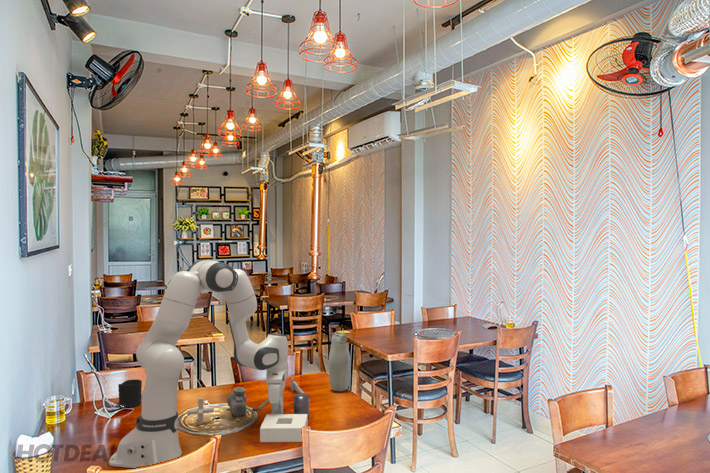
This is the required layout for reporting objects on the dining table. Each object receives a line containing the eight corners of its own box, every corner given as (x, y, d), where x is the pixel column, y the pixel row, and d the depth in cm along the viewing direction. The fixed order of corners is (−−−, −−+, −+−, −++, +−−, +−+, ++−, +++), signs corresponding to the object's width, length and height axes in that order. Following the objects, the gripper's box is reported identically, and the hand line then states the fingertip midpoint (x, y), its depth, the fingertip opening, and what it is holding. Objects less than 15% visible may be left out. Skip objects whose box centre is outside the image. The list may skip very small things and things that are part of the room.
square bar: (271, 421, 195) (271, 396, 195) (273, 417, 199) (273, 393, 199) (281, 421, 195) (281, 396, 195) (283, 417, 199) (282, 393, 199)
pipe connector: (186, 429, 187) (186, 403, 187) (188, 420, 197) (188, 395, 197) (213, 426, 190) (213, 401, 190) (213, 417, 199) (213, 393, 199)
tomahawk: (266, 414, 206) (266, 412, 206) (251, 412, 207) (251, 409, 207) (285, 397, 227) (285, 395, 226) (271, 395, 228) (271, 392, 228)
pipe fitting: (226, 407, 210) (228, 384, 209) (245, 407, 213) (247, 384, 212) (227, 420, 199) (230, 396, 198) (247, 419, 201) (250, 396, 200)
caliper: (290, 390, 236) (290, 377, 236) (292, 389, 237) (292, 376, 237) (308, 402, 218) (308, 388, 218) (310, 402, 219) (310, 388, 219)
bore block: (260, 442, 175) (260, 428, 175) (266, 427, 189) (266, 414, 189) (304, 441, 176) (304, 428, 176) (307, 426, 190) (307, 414, 190)
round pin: (292, 420, 196) (292, 398, 196) (294, 414, 203) (294, 393, 203) (308, 420, 196) (308, 398, 196) (309, 414, 203) (309, 393, 203)
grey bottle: (353, 389, 236) (353, 332, 236) (342, 395, 227) (342, 335, 227) (336, 386, 241) (336, 330, 241) (325, 391, 232) (324, 333, 233)
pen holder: (116, 404, 216) (116, 381, 216) (138, 400, 221) (138, 378, 221) (120, 410, 208) (120, 387, 208) (144, 405, 214) (144, 383, 214)
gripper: (273, 366, 208) (273, 398, 208) (265, 380, 187) (265, 415, 187) (288, 366, 208) (288, 398, 208) (281, 380, 187) (281, 415, 187)
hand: (277, 406), depth 197 cm, fingers closed on square bar, 4 cm apart
